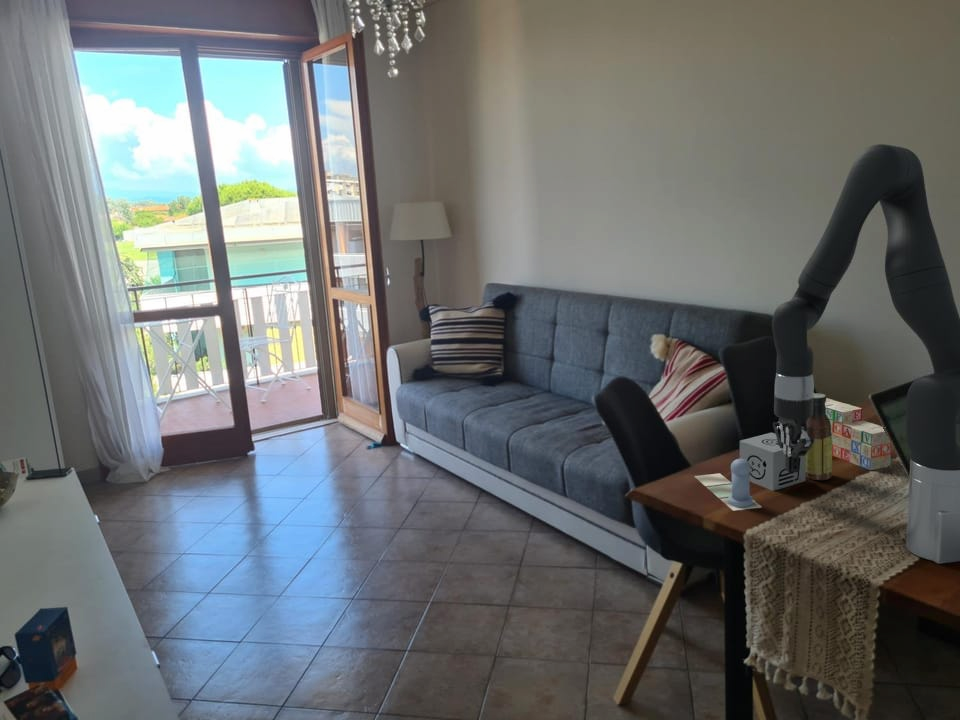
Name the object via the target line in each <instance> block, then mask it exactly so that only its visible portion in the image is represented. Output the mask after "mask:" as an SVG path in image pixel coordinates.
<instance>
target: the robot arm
mask: <svg viewBox="0 0 960 720" xmlns="http://www.w3.org/2000/svg"><path fill="white" fill-rule="evenodd" d="M925 184H926V183H925V177H924V171H923V166H922V163H921V160H920V159H919V157H918V156H917V154H915V152H914V151H912V150H910V149H908V148H905V147H902V146H896V145H891V144H883V143H880V144H874V145H871V146H869V147H866V148H865V149H863V151H861V153H859V154H858V155H857V156H856V158H855V160H854V161H853V164H852V165H851V168H850V170H849V172H848V174H847V178H846V179H845V182H844V185H843V187H842V190H841V193H840V195H839V198H838V199H837V202H836V204H835V207H834V210H833V212H832V214H831V217H830V219H829V221H828V224H827V226H826V227H825V229H824V232H823V233H822V236H821V238H820V240H819V241H818V243H817V246H816V247H815V249H814V251H813V252H812V254H811V256H810V257H809V258H808V261H807V262H806V263H805V265H804V267H803V269H802V270H801V273H800V274H799V276H798V279H797V283H798V287H797V289H796V291H795V293H794V294H793V296H792V298H791V299H790V300H788V301H786V302H782V303H780V304H779V305H777V308H776V309H775V311H774V313H773V314H772V315H773V316H772V320H771V329H772V330H771V331H772V336H773V342H774V346H775V350H776V365H775V366H776V367H775V368H776V370H775V371H776V372H775V379H774V396H773V397H774V398H773V399H774V401H773V402H774V403H773V411H774V412H773V413H774V415H775V416H776V417H777V418H778V421H777V422H773V423H772V427H773V430H774V433H775V434H776V437H777V440H778V443H779V447H780V448H781V449H782V448H783V452H784V454H786V457H785V470H786V471H788V472H789V473H795V472H798V469H799V456H805V455H806V454H807V452H808V451H809V449H810V448H811V446H812V445H813V443H814V439H813V438H809V437H808V435H807V431H808V427H807V422H806V421H807V420H808V419H809V418H810V417H812V415H813V397H814V393H815V392H814V389H815V382H814V351H813V349H812V348H811V346H809V344H808V331H809V330H810V331H811V330H812V328H814V327H815V326H816V325H817V323H818V322H819V321H820V320H821V318H822V316H823V314H824V313H825V310H826V308H827V306H828V303H829V301H830V300H831V299H830V298H831V295H832V294H833V292H834V291H835V289H836V288H837V287H838V285H839V283H840V282H841V280H842V279H843V277H844V275H845V274H846V272H847V270H848V269H849V267H850V265H851V263H852V261H853V259H854V255H855V253H856V250H857V245H858V241H859V236H860V233H861V231H862V228H863V226H864V225H865V221H866V220H867V218H868V216H869V215H870V214H871V212H872V210H873V209H874V208H875V207H876V205H877V204H878V203H879V204H880V206H881V209H882V213H883V216H884V219H885V222H886V227H887V245H886V249H885V256H884V257H885V258H884V259H885V260H884V273H885V280H886V282H887V283H886V284H887V287H888V291H889V294H890V295H889V296H890V298H891V301H892V304H893V307H894V309H895V311H896V312H897V313H898V315H899V316H900V318H901V319H902V320H903V321H904V322H905V324H906V325H907V326H908V327H909V328H910V329H911V330H912V331H913V332H914V333H915V334H916V336H917V337H918V338H919V339H920V341H921V342H922V344H924V345H923V346H925V348H926V351H927V353H928V355H929V358H930V361H931V365H932V369H933V374H929V375H924V376H921V377H918V378H916V379H915V380H913V382H912V383H911V385H910V386H909V388H908V391H907V395H906V402H905V419H906V420H905V422H906V423H905V427H906V430H905V431H906V432H905V433H906V441H907V442H906V443H907V445H908V447H909V450H910V462H909V463H910V465H909V477H908V478H909V483H908V496H907V499H908V501H907V517H906V518H907V522H906V544H905V547H906V548H907V550H908V551H909V552H910V553H912V554H913V555H914V556H917V557H920V558H922V559H926V560H928V561H932V562H935V564H939V565H940V564H946V563H955V562H960V442H959V441H957V426H958V425H960V314H959V311H958V308H957V306H956V302H955V298H954V294H953V289H952V284H951V281H950V277H949V274H948V270H947V267H946V263H945V261H944V260H945V259H944V257H943V254H942V252H941V251H942V250H941V249H940V244H939V241H938V238H937V237H938V236H937V234H936V231H935V227H934V225H933V222H932V218H931V213H930V209H929V203H928V196H927V191H926V185H925Z"/></svg>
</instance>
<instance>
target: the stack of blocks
mask: <svg viewBox="0 0 960 720" xmlns="http://www.w3.org/2000/svg"><path fill="white" fill-rule="evenodd" d="M825 411H826V415H827V417H828V419H829V420H830V423H831V434H832V457H835V458H838V459H841V460H843V461H845V462H849V463H851V464H853V465H855V466H858V467H861V468H863V469H864V470H868V471H874V470H879V469H884V468H888V466H889V467H891V464H892V463H891V460H892V458H891V455H892V442H890V440H889V438H888V436H887V435H886V433H885V431H884V429H883V427H884V426H882V425H879V424H876V423H872V422H868V421H865V420H863V408H861V407H859V406H855V405H852V404H848V403H844V402H841V401H837V400H835V399H830V398H828V397H826V402H825ZM883 467H884V468H883Z"/></svg>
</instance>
